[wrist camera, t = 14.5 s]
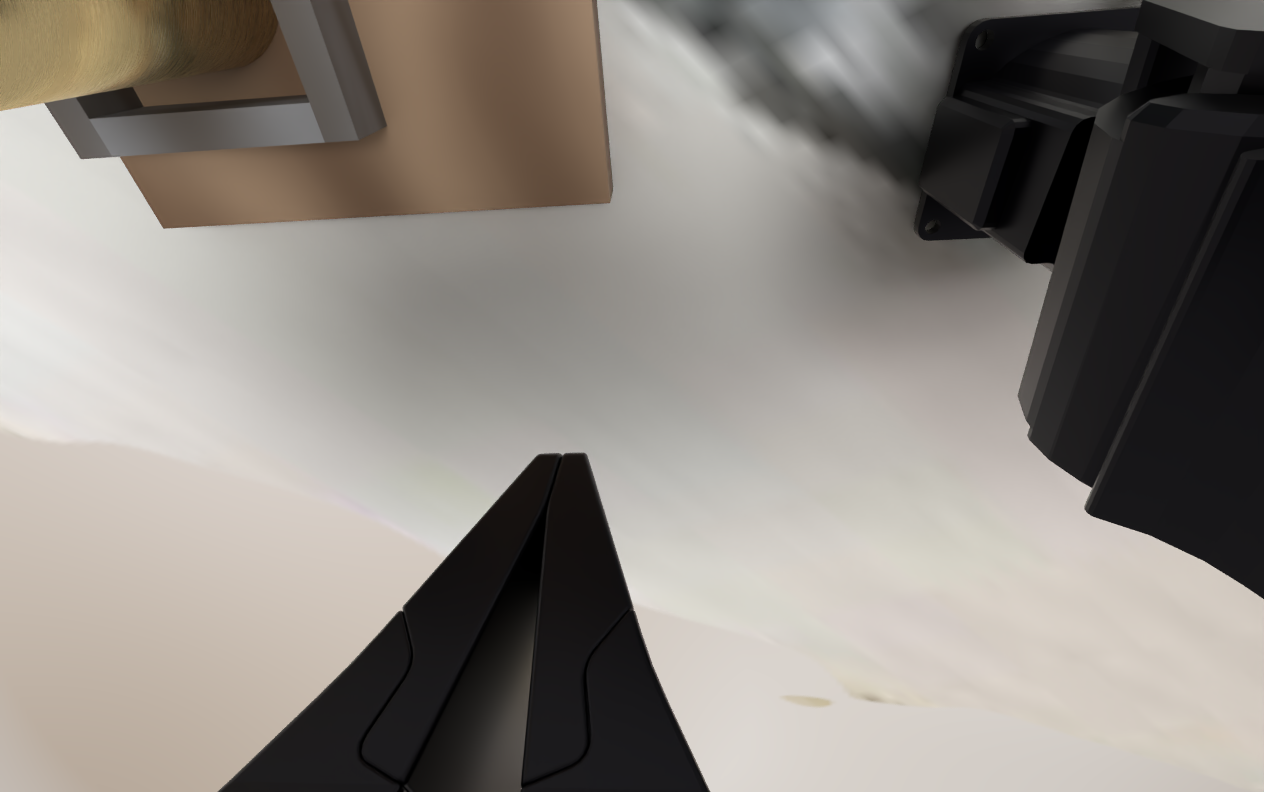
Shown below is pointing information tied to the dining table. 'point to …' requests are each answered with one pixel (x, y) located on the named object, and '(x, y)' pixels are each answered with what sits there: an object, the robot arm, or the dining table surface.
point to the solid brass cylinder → (122, 44)
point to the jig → (370, 116)
